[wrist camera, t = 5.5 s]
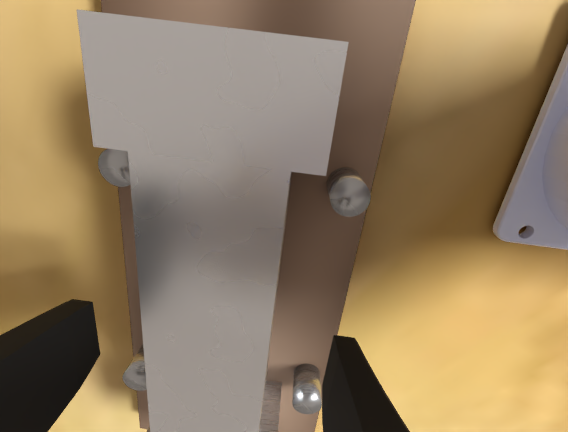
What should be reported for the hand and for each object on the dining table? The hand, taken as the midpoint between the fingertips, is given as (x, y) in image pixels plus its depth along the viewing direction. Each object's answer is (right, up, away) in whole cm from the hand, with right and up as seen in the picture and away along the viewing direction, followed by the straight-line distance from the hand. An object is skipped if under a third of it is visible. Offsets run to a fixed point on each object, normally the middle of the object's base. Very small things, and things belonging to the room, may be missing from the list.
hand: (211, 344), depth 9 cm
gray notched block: (0, +1, +3) cm, 3 cm away
